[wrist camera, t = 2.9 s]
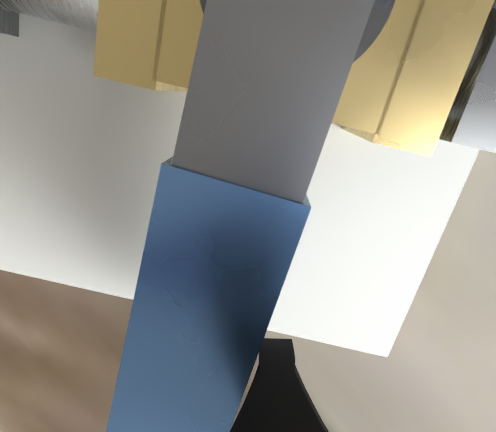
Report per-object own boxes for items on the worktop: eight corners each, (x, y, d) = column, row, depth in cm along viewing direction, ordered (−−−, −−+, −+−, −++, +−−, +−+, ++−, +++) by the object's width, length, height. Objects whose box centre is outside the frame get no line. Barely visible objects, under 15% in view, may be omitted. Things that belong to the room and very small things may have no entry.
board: (648, -276, 9) (684, -311, 8) (381, 343, 15) (387, 357, 14) (-81, -475, 8) (-116, -532, 8) (-43, 247, 14) (-60, 255, 14)
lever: (232, -144, 6) (216, -248, 4) (413, -84, 6) (474, -159, 4) (119, 391, 10) (86, 457, 8) (230, 421, 10) (222, 492, 9)
